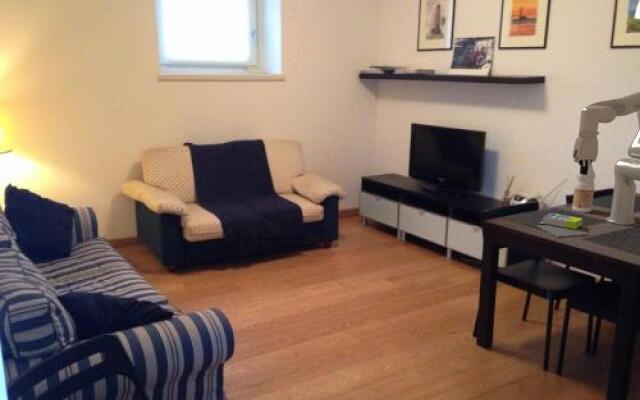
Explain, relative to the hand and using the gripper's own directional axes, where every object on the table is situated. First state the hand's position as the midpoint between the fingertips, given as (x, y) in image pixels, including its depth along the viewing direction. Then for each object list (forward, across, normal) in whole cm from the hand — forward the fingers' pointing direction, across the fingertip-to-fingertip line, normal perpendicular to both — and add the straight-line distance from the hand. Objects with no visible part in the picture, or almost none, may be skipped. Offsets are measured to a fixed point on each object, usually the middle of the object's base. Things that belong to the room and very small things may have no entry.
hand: (583, 174), depth 253 cm
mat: (+27, +8, 0) cm, 28 cm away
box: (+25, -2, -1) cm, 25 cm away
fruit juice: (+27, -25, -31) cm, 48 cm away
